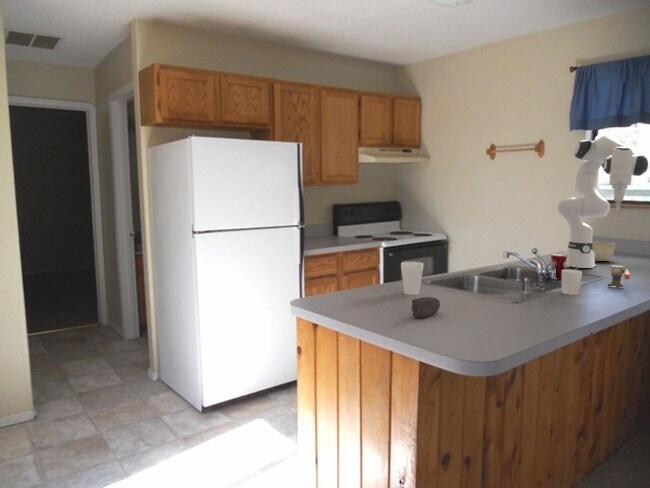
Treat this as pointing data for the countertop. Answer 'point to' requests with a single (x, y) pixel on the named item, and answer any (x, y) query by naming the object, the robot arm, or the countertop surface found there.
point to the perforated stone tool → (425, 306)
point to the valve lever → (627, 274)
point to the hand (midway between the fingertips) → (617, 210)
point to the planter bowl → (603, 250)
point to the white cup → (571, 281)
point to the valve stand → (616, 276)
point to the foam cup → (411, 277)
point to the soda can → (559, 264)
